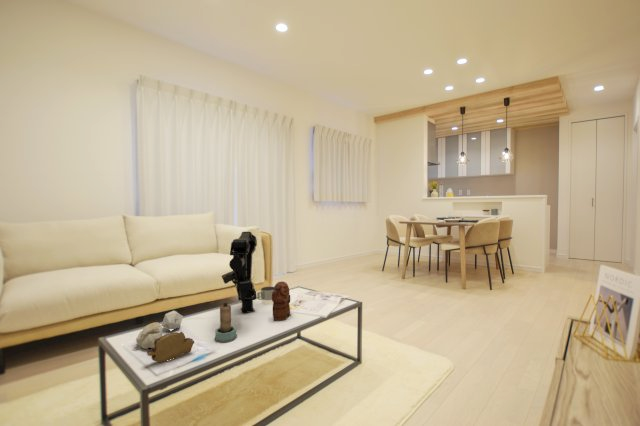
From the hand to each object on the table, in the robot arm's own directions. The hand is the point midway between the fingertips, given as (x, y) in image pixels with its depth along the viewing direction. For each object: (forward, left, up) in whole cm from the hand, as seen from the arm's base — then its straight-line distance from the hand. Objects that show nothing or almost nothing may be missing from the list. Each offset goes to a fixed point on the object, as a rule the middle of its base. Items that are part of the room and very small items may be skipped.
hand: (240, 298), depth 153 cm
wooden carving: (+24, -30, -12) cm, 40 cm away
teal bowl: (+14, -9, -12) cm, 20 cm away
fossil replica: (+8, -38, -12) cm, 41 cm away
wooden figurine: (+1, +20, -12) cm, 23 cm away
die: (-6, -30, -12) cm, 33 cm away
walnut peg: (+14, -9, -11) cm, 20 cm away
